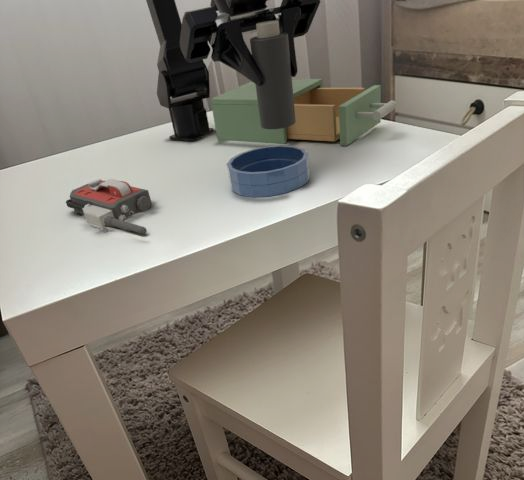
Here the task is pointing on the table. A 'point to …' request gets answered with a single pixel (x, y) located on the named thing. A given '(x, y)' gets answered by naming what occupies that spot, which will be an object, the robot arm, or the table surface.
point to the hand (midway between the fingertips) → (278, 79)
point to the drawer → (337, 113)
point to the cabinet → (250, 113)
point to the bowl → (269, 170)
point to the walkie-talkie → (110, 203)
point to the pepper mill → (273, 76)
